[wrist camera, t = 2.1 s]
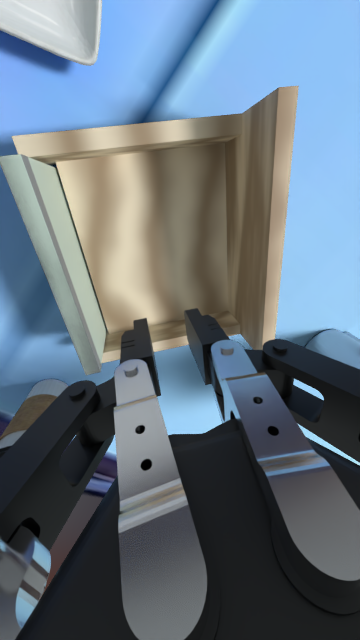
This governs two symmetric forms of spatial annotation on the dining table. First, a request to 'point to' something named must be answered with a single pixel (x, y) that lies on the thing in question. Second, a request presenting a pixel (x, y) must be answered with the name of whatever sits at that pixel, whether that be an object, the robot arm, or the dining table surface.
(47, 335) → the dining table surface
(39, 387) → the coffee cup
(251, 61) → the dining table surface
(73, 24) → the square plate
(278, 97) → the tray
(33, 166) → the panel
